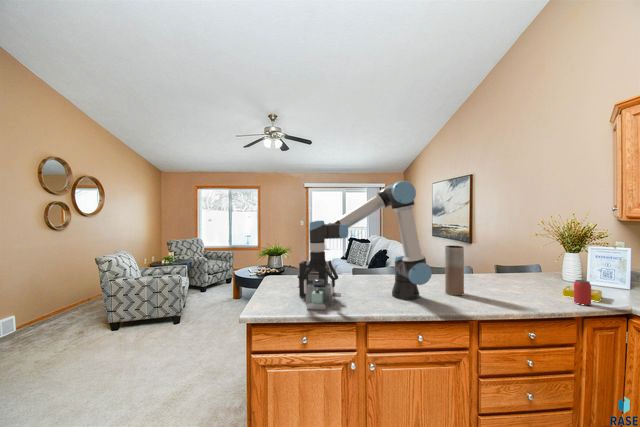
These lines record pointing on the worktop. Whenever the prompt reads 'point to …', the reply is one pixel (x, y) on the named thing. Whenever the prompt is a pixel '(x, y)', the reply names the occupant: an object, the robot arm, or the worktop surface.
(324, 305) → the motor
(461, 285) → the vase
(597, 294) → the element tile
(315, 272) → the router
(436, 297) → the worktop surface
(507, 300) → the worktop surface
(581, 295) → the beer can
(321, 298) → the block
